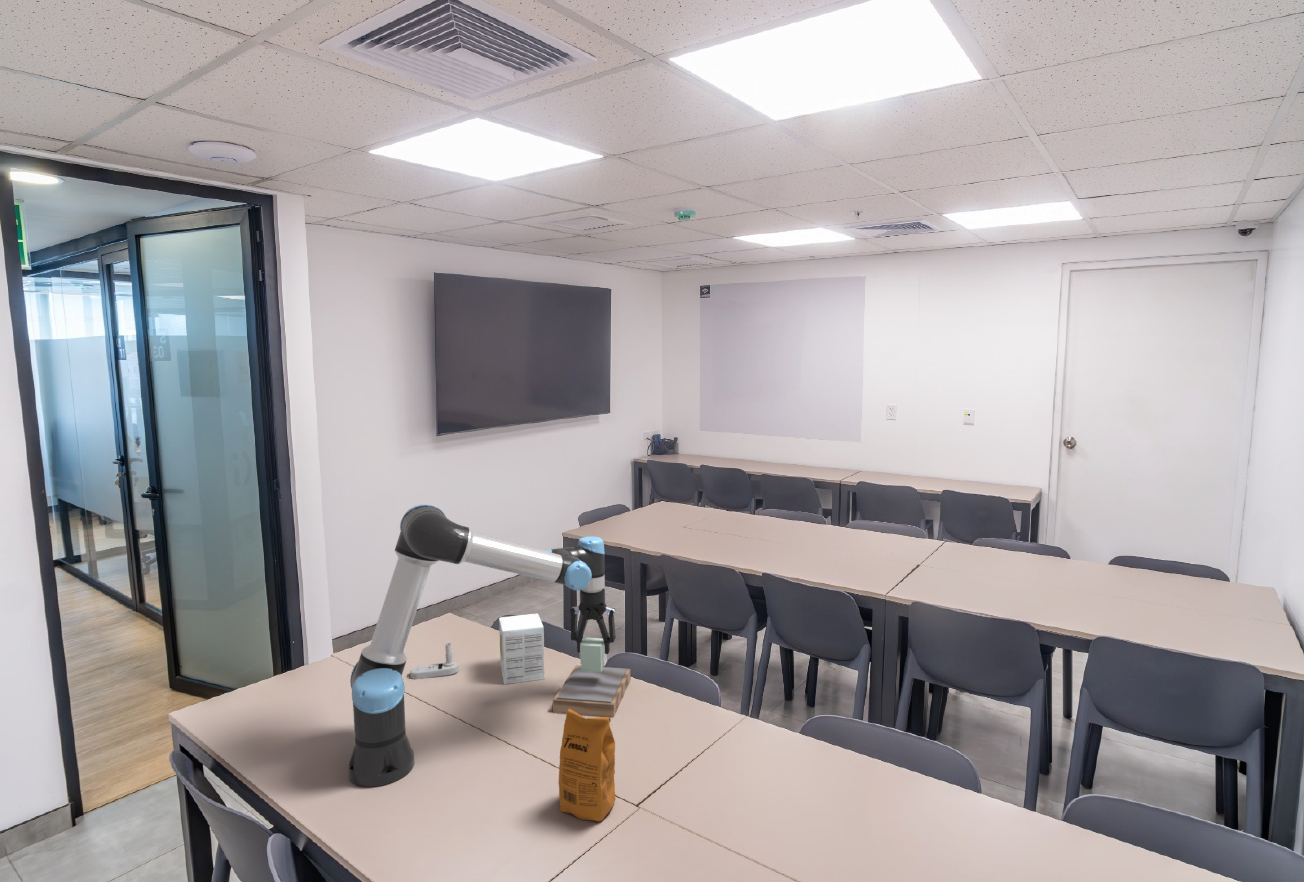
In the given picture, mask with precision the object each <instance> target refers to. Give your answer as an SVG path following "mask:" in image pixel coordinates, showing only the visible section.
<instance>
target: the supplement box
mask: <svg viewBox="0 0 1304 882" xmlns="http://www.w3.org/2000/svg"><path fill="white" fill-rule="evenodd" d="M498 624H499V625H498V626H499V629H498V630H499V649H500V650H499V654H500V671H501V677H502V681H503V684H504V685H509V684H517V683H523V682H532V681H539V680H545V637H544V636H545V635H544V634H545V631H544V629H545V628H544V625H543V622H542V619H541V618H540V615H539V613H529V614H521V615H518V614H517V615H511V616H502V617H499V618H498Z"/></svg>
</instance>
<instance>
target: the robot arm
mask: <svg viewBox="0 0 1304 882" xmlns="http://www.w3.org/2000/svg"><path fill="white" fill-rule="evenodd" d="M399 525H400V526H399V528H400V529H399V530H400V532H399V536H398V539H397V542H396V545H395V548H394V552H395V554H396V556H397V561H396V565H395V568H394V570H393V573H392V576H391V580H390V583H389V586H388V589H387V592H386V594H385V598H384V601H383V605H382V607H381V611H380V614H379V616H378V619H377V623H376V625H375V629H374V632H373V636H372V637H371V642H370V644H369V645H367V646H365V647H363V648H362V649H361V653H360V655H359V658H358V661H357V662H356V663H355V664H354V667H353V669H352V671H351V674H350V679H349V680H350V681H349V682H350V688H351V700H352V707H353V708H352V711H353V729H354V747H353V749H352V754H351V755H350V759H349V760H350V761H349V763H348V769H347V770H348V779H349V781H350V782H351V783H352V784H355V785H356V786H360V787H365V788H366V787H368V788H369V787H373V788H374V787H381V786H385V785H389V784H391V783H394V782H396V781H399V780H400V779H402V778H404V777H405V776H407V775H408V774H409V773H410V772H411V771H412V770H413V768H414V767H415V752H414V750H413V749H412V746H411V743H410V741H409V738H408V736H407V731H406V729H407V728H406V713H405V712H406V710H405V690H406V689H405V688H406V687H405V682H404V678H403V673H404V670H405V667H406V663H407V660H408V657H407V655H406V654H405V652H404V650H405V647H406V644H407V642H408V637H409V635H410V631H411V629H412V625H413V623H414V619H415V617H416V613H417V610H418V607H419V603H420V601H421V597H422V595H423V592H424V589H425V585H426V581H427V579H428V577H429V573H430V570H431V567H432V566H433V565H435V564H436V563H438V562H439V561H441V562H445V563H449V564H454V565H460V564H462V563H469V564H471V565H472V564H473V565H478V566H482V567H486V568H490V569H494V570H495V569H496V570H499V571H504V572H509V573H512V574H516V575H521V576H525V577H528V578H529V577H531V578H534V579H538V580H542V581H547V582H552V583H555V584H558V585H563V586H566V587H567V588H569V589H570V590H573V591H579V605H577V606H575V605H572V607H571V608H570V609H569V613H570V615H571V621H570V622H571V625H570V640H571V641H574V642H576V651H577V653H580V654H579V655H580V656H579V657H580V659H579V660H580V661H579V662H581V644H582V643H583V642H584V640H585V639H584V635H585V631H586V628H587V625H588V622H589V620H590V621H591V620H592V621H596V624H597V625H598V629H599V632H600V634H601V637H602V638H603V641H604V642H603V644H602V666H604V667H605V666H606V664H607V663H608V660H607V659H608V657H607V655H609V653H610V651H611V647H610V643H611V644H612V643H614V642H615V640H616V638H617V637H616V636H617V635H616V626H615V613H616V608H614V607H612V608H610V607H608V606H607V605H606V589H605V587H606V586H605V585H606V584H605V583H606V578H605V577H606V575H605V545H604V540H603V539H602V538H601V537H599V536H591V535H590V536H584V537H581V538H579V540H578V543H577V545H575V546H569V547H560V548H559V547H558V548H550V549H546V550H542V549H538V548H535V547H534V548H533V547H531V546H527V545H522V544H518V543H515V542H511V541H507V540H503V539H498V538H494V537H493V536H487V535H484V534H479V533H475V532H473V531H472V530H471V528H470V527H469V526H468V527H467V526H464V525H462V524H458V523H456V522H454V521H452V520H451V519H449V518H447V516H446V514H445V512H444V511H443V510H442V509H440V508H439V507H436V506H434V505H431V504H427V503H423V504H421V503H420V504H417V505H414V506H413V507H411V508H409V509H408V510H407V511H406V512H405V514H403V516H402V518H401V520H400V524H399ZM579 612H580V613H581V614H582V616H583V618H582V620H581V625H580V628H579V631H578V618H579V617H578V616H579V614H578V613H579ZM605 612H606V615H607V616H608V617H607V619H608V629H607V627H606V626H607V625H606V623H605V620H604V619H605V618H604V614H605ZM608 631H609V633H608ZM577 634H578V635H577Z"/></svg>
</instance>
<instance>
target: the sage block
mask: <svg viewBox="0 0 1304 882" xmlns="http://www.w3.org/2000/svg"><path fill="white" fill-rule="evenodd" d="M583 640H584V642H583V643H582V644H581V661H580V665H581V671H588V672H601V671H602V670H603V668H604V667H605V666H602V644H603V642H604V641H603V638H601V637H600V638H598V637H585V639H583Z"/></svg>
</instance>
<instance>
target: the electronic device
mask: <svg viewBox="0 0 1304 882" xmlns="http://www.w3.org/2000/svg"><path fill="white" fill-rule="evenodd" d="M444 647H445V662H441V663H440V662H439V663H431V664H425V665H423V664H422V665H416V666H414V667H412V668H411V669H410V670H409V674H410V679H412V680H420V679H421V680H422V679H429V678H436V677H437V678H439V677H445V676H452V675H455V674H457V673H458V672H459V663H458V662H456V661H454V660H453V652H452V643H450V642H448V643H445V644H444Z"/></svg>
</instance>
